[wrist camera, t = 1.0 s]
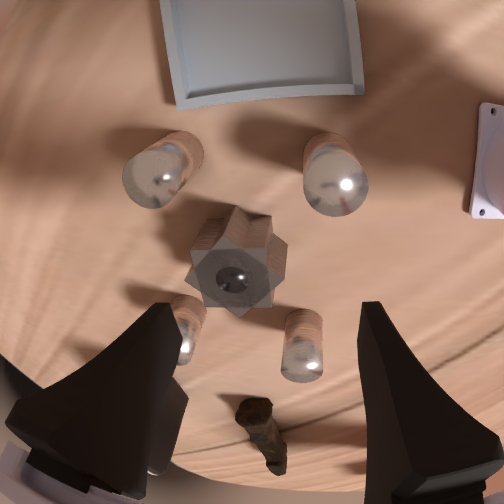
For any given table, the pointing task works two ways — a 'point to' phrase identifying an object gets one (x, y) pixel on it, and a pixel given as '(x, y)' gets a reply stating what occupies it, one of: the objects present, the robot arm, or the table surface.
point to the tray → (261, 49)
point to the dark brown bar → (264, 432)
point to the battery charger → (167, 428)
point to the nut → (237, 262)
